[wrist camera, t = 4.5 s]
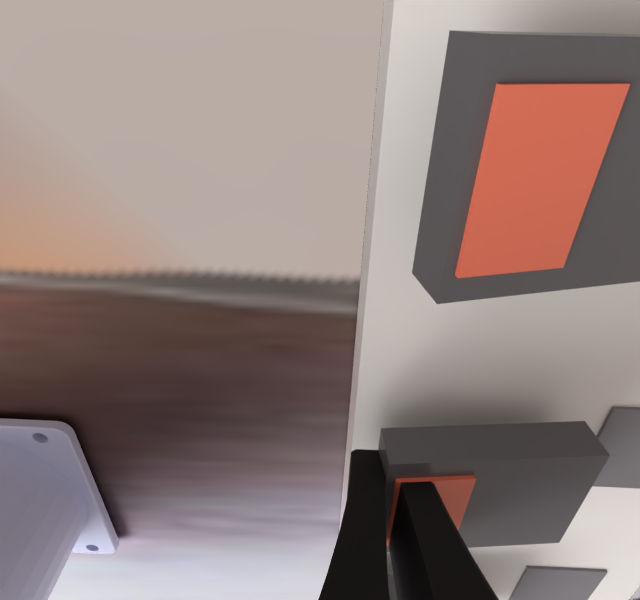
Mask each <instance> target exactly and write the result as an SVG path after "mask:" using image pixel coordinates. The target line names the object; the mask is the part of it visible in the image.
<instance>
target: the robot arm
mask: <svg viewBox="0 0 640 600" xmlns="http://www.w3.org/2000/svg"><path fill="white" fill-rule="evenodd" d="M118 545H119V540H118V537H117V535H116V532H115V530H114V527H113V525H112V522H111V520H110V517H109V515H108V513H107V510H106V508H105V505H104V503H103V500H102V498H101V495H100V493H99V491H98V488H97V486H96V483H95V481H94V478H93V476H92V473H91V471H90V468H89V466H88V464H87V461H86V459H85V456H84V454H83V451H82V449H81V446H80V444H79V442H78V439H77V437H76V434H75V432H74V430H73V429H72V427H71V426H69V425H68V424H66V423H64V422H61V421H49V420H27V419H5V418H0V600H48V598H49V596H50V594H51V592H52V590H53V588H54V586H55V584H56V582H57V580H58V578H59V576H60V574H61V572H62V570H63V568H64V566H65V564H66V562H67V560H68V558H69V556H70V554H71V552H76V553H95V554H111V553H114V552H115V551H116V550H117V547H118ZM389 550H390V557H391V563H392V570H393V576H394V582H395V588H396V595H397V600H499V599H498V597H497V596H496V594H495V593H494V591H493V589H492V588H491V586H490V585H489V583H488V581H487V580H486V578H485V576H484V575H483V573H482V572H481V570H480V568H479V567H478V565H477V563H476V562H475V560H474V558H473V557H472V555H471V553H470V551H469V550H468V548H467V546H466V544H465V542H464V541H463V539H462V537H461V535H460V533H459V532H458V530H457V528H456V526H455V524H454V522H453V521H452V519H451V517H450V515H449V513H448V511H447V509H446V507H445V505H444V503H443V501H442V499H441V497H440V495H439V493H438V491H437V489H436V487H435V484H433V483H432V482H431V481H426V482H401V485H400V490H399V495H398V500H397V506H396V511H395V516H394V521H393V526H392V531H391V536H390V541H389ZM319 600H390V596H389V587H388V573H387V541H386V501H385V477H384V471H383V465H382V461H381V458H380V455H379V452H378V450H365V449H355V450H353V451H352V452H351V457H350V468H349V479H348V489H347V501H346V506H345V510H344V514H343V518H342V523H341V527H340V531H339V535H338V539H337V543H336V546H335V549H334V553H333V556H332V559H331V563H330V566H329V569H328V573H327V576H326V579H325V582H324V585H323V588H322V591H321V594H320V597H319Z"/></svg>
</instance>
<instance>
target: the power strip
mask: <svg viewBox="0 0 640 600" xmlns="http://www.w3.org/2000/svg"><path fill="white" fill-rule="evenodd" d="M450 30H455V31H502V32H550V33H597V34H640V0H384V5H383V17H382V29H381V41H380V53H379V65H378V77H377V88H376V101H375V112H374V124H373V136H372V148H371V159H370V171H369V184H368V196H367V207H366V219H365V231H364V243H363V255H362V266H361V278H360V290H359V302H358V314H357V325H356V337H355V349H354V361H353V373H352V385H351V397H350V408H349V420H348V432H347V444H346V456H345V468H344V480H343V491H342V503H341V515H340V527H341V523H342V518H343V514H344V510H345V506H346V501H347V489H348V479H349V468H350V457H351V452H352V451H353V450H355V449H365V450H378V446H379V439H380V432H381V428H400V427H429V426H457V425H485V424H513V423H541V422H570V421H585V422H586V423H587V424H588V426H589V427H590V429H591V430H592V431H593V433H594V434H595V435H596V437H597V438H598V439H599V441H600V442H601V444H602V445H603V446H604V448H605V449H606V450H607V452H608V453H609V455H610V457H609V458H608V460H607V462H606V464H605V465H604V467H603V469H602V470H601V472H600V474H599V476H598V477H597V479H596V481H595V482H594V484H593V486H592V488H591V489H590V491H589V493H588V494H587V496H586V498H585V500H584V501H583V503H582V505H581V506H580V508H579V510H578V512H577V513H576V515H575V517H574V518H573V520H572V522H571V524H570V525H569V527H568V529H567V530H566V532H565V534H564V536H563V537H562V539H561V541H560V542H559V543H547V544H528V545H510V546H492V547H473V548H468V550H469V551H470V553H471V555H472V557H473V558H474V560H475V562H476V563H477V565H478V567H479V568H480V570H481V572H482V573H483V575H484V576H485V578H486V580H487V581H488V583H489V585H490V586H491V588H492V589H493V591H494V593H495V594H496V596H497V597H498V599H499V600H629V598H630V597H631V596H632V595H633V594H634V592H635V591H636V590H637V589H638V588H639V587H640V282H631V283H622V284H613V285H604V286H595V287H586V288H577V289H568V290H559V291H550V292H541V293H532V294H523V295H515V296H506V297H497V298H488V299H479V300H470V301H461V302H452V303H443V304H436V302H435V301H434V300H433V299H432V297H431V296H430V295H429V294H428V292H427V291H426V290H425V289H424V287H423V286H422V285H421V284H420V282H419V281H418V280H417V279H416V278H415V276H414V275H413V274H412V269H413V262H414V256H415V249H416V243H417V236H418V230H419V224H420V217H421V211H422V204H423V198H424V191H425V185H426V179H427V172H428V166H429V159H430V153H431V147H432V140H433V134H434V127H435V121H436V114H437V108H438V102H439V95H440V89H441V82H442V76H443V69H444V63H445V57H446V50H447V44H448V37H449V31H450ZM340 527H339V531H340ZM387 573H388V574H390V575H393V570H392V563H391V557H390V552H387Z"/></svg>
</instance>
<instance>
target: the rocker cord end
mask: <svg viewBox="0 0 640 600" xmlns="http://www.w3.org/2000/svg"><path fill="white" fill-rule="evenodd" d="M412 274H413V275H414V276H415V278H416V279H417V280H418V281H419V282H420V284H421V285H422V286H423V287H424V289H425V290H426V291H427V292H428V294H429V295H430V296H431V297H432V299H433V300H434V301H435V302H436V304H443V303H452V302H461V301H470V300H479V299H488V298H497V297H506V296H515V295H523V294H532V293H541V292H550V291H559V290H568V289H577V288H586V287H595V286H604V285H613V284H622V283H631V282H640V34H597V33H550V32H502V31H455V30H450V31H449V37H448V44H447V50H446V57H445V63H444V69H443V76H442V82H441V89H440V95H439V102H438V108H437V114H436V121H435V127H434V134H433V140H432V147H431V153H430V159H429V166H428V172H427V179H426V185H425V191H424V198H423V204H422V211H421V217H420V224H419V230H418V236H417V243H416V249H415V256H414V262H413V269H412Z"/></svg>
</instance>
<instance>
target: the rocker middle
mask: <svg viewBox="0 0 640 600" xmlns="http://www.w3.org/2000/svg"><path fill="white" fill-rule="evenodd" d="M378 452H379V455H380V458H381V461H382V465H383V471H384V477H385V501H386V541H387V552H390V550H389V541H390V536H391V531H392V526H393V521H394V516H395V511H396V506H397V500H398V495H399V490H400V485H401V482H426V481H431V482H432V483H433V484H435V487H436V489H437V491H438V493H439V495H440V497H441V499H442V501H443V503H444V505H445V507H446V509H447V511H448V513H449V515H450V517H451V519H452V521H453V522H454V524H455V526H456V528H457V530H458V532H459V533H460V535H461V537H462V539H463V541H464V542H465V544H466V546H467V548H473V547H492V546H510V545H528V544H547V543H559V542H560V541H561V539H562V537H563V536H564V534H565V532H566V530H567V529H568V527H569V525H570V524H571V522H572V520H573V518H574V517H575V515H576V513H577V512H578V510H579V508H580V506H581V505H582V503H583V501H584V500H585V498H586V496H587V494H588V493H589V491H590V489H591V488H592V486H593V484H594V482H595V481H596V479H597V477H598V476H599V474H600V472H601V470H602V469H603V467H604V465H605V464H606V462H607V460H608V458H609V457H610V455H609V453H608V452H607V450H606V449H605V448H604V446H603V445H602V444H601V442H600V441H599V439H598V438H597V437H596V435H595V434H594V433H593V431H592V430H591V429H590V427H589V426H588V424H587V423H586V422H585V421H570V422H541V423H513V424H485V425H457V426H429V427H400V428H381V432H380V439H379V446H378Z"/></svg>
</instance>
